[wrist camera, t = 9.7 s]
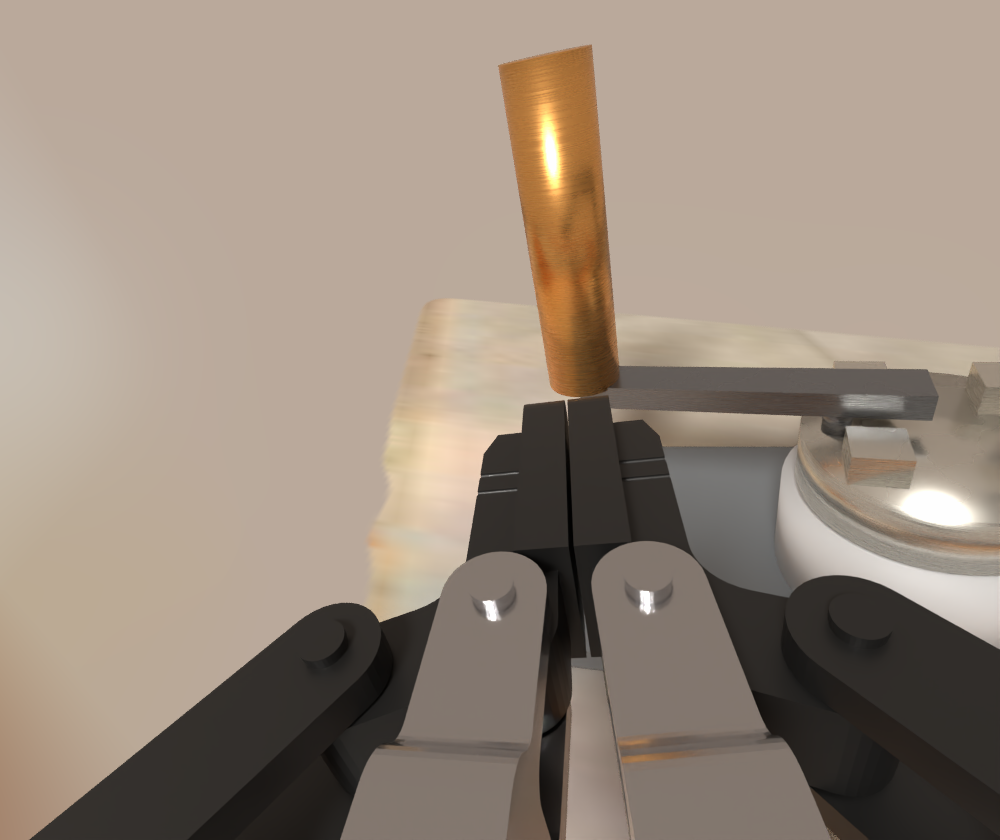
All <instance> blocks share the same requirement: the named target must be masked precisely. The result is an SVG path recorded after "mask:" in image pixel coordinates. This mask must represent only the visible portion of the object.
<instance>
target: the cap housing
mask: <svg viewBox="0 0 1000 840" xmlns="http://www.w3.org/2000/svg"><path fill="white" fill-rule="evenodd" d="M662 448H663V451H664V455H665V460H666V462H667V466H668V470H669V473H670V478H671V481H672V484H673V488H674V492H675V496H676V499H677V503H678V507H679V510H680V514H681V518H682V521H683V525H684V529H685V532H686V536H687V540H688V544H689V546H690V549H691V551H692V553H693V555H694V556H695V558H696V559H697V560H698V562H699V563H700V564H701V565H702V566H703V567H704V568H705V569H706V570H708V571H709V572H710V573H712V574H713V575H715V576H716V577H718V578H719V579H721V580H723V581H725V582H727V583H730V584H732V585H735V586H738V587H741V588H745V589H749V590H753V591H758V592H763V593H768V594H773V595H778V596H783V597H788V598H789V597H790V595H791V593H792V592H793V591H794V590H795V589H796V588H797V587H798V586H800V585H801V584H803V583H804V582H806V581H809V580H811V579H813V578H817V577H821V576H829V575H846V576H853V577H859V578H863V579H867V580H871V581H873V582H876V583H879V584H882V585H884V586H886V587H888V588H890V589H892V590H894V591H896V592H898V593H899V594H901V595H903V596H905V597H907V598H908V599H910V600H912V601H914V602H916V603H917V604H919V605H921V606H923V607H925V608H926V609H928V610H930V611H932V612H934V613H935V614H937V615H939V616H941V617H943V618H944V619H946V620H948V621H950V622H952V623H953V624H955V625H957V626H959V627H961V628H962V629H964V630H966V631H968V632H969V633H971V634H973V635H975V636H977V637H978V638H980V639H982V640H984V641H986V642H987V643H989V644H991V645H993V646H995V647H996V648H998V649H1000V576H968V575H956V574H949V573H943V572H937V571H931V570H927V569H923V568H919V567H914V566H910V565H907V564H904V563H901V562H898V561H895V560H892V559H889V558H886V557H884V556H881V555H879V554H876V553H874V552H872V551H869V550H867V549H865V548H863V547H861V546H859V545H857V544H855V543H854V542H852V541H850V540H849V539H847V538H845V537H844V536H842V535H840V534H839V533H837V532H836V531H835V530H833V529H832V528H831V527H829V526H828V525H827V524H825V523H824V522H823V521H822V520H821V519H820V518H819V517H818V516H817V515H816V514H815V513H814V512H813V511H812V510H811V508H810V507H809V506H808V505H807V504H806V502H805V500H804V499H803V497H802V496H801V494H800V492H799V489H798V487H797V484H796V478H795V465H796V456H797V448H798V444H797V445H796V446H795V447H662ZM584 619H585V615H584ZM585 637H586V655H587V658H571V667H577V668H586V669H594V670H602V671H603V665H602V657H591V653H590V647H589V640H588V634H587V627H586V621H585Z"/></svg>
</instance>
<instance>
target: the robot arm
mask: <svg viewBox="0 0 1000 840" xmlns="http://www.w3.org/2000/svg"><path fill="white" fill-rule="evenodd" d="M568 423H569V426H568ZM584 615H585V619H584ZM585 621H586V627H587V634H588V640H589V647H590V653H591V657H602V665H603V672H604V679H605V686H606V693H607V700H608V707H609V714H610V720H611V727H612V733H613V739H614V745H615V751H616V757H617V763H618V770H619V776H620V782H621V788H622V794H623V800H624V806H625V813H626V819H627V825H628V831H629V837H630V840H831V838H830V836H829V833H828V831H827V828H826V826H827V827H828V828H829V829H830V830H831V831H832V832H833V833H834V834H835V835H836V836H837V837H838V838H839V839H841V840H1000V649H998V648H996V647H995V646H993V645H991V644H989V643H987V642H986V641H984V640H982V639H980V638H978V637H977V636H975V635H973V634H971V633H969V632H968V631H966V630H964V629H962V628H961V627H959V626H957V625H955V624H953V623H952V622H950V621H948V620H946V619H944V618H943V617H941V616H939V615H937V614H935V613H934V612H932V611H930V610H928V609H926V608H925V607H923V606H921V605H919V604H917V603H916V602H914V601H912V600H910V599H908V598H907V597H905V596H903V595H901V594H899V593H898V592H896V591H894V590H892V589H890V588H888V587H886V586H884V585H882V584H879V583H876V582H873V581H871V580H867V579H863V578H859V577H853V576H846V575H829V576H821V577H817V578H813V579H811V580H809V581H806V582H804V583H803V584H801V585H800V586H798V587H797V588H796V589H795V590H794V591H793V592H792V593H791V595H790V597H789V598H788V597H783V596H778V595H773V594H768V593H763V592H758V591H753V590H749V589H745V588H741V587H738V586H735V585H732V584H730V583H727V582H725V581H723V580H721V579H719V578H718V577H716V576H715V575H713V574H712V573H710V572H709V571H708V570H706V569H705V568H704V567H703V566H702V565H701V564H700V563H699V562H698V560H697V559H696V558H695V556H694V555H693V553H692V551H691V549H690V546H689V544H688V540H687V536H686V532H685V529H684V525H683V521H682V518H681V514H680V510H679V507H678V503H677V499H676V496H675V492H674V488H673V484H672V481H671V478H670V473H669V470H668V466H667V462H666V460H665V455H664V451H663V448H662V444H661V440H660V436H659V435H658V434H657V433H656V432H655V431H654V430H653V429H652V428H650V427H649V426H648V425H647V424H646V423H645V422H644V421H643V420H635V421H625V422H616V423H613V421H612V415H611V408H610V402H609V396H608V395H605V396H596V397H587V398H579V399H570V400H568V418H567V411H566V405H565V401H564V400H563V401H554V402H545V403H536V404H528V405H524V409H523V422H522V433H515V434H505V435H498V436H497V437H496V439H495V440H494V441H493V443H492V444H491V445H490V447H489V448H488V449H487V451H486V452H485V453H484V456H483V463H482V469H481V478H480V481H479V487H478V496H477V499H476V505H475V511H474V517H473V523H472V529H471V535H470V541H469V547H468V553H467V559H466V562H465V563H464V564H462V565H461V566H460V567H459V568H457V569H456V570H455V571H454V572H453V573H452V575H451V576H450V577H449V578H448V580H447V582H446V583H445V585H444V587H443V590H442V593H441V596H440V598H439V599H437V600H436V601H434V602H432V603H430V604H429V605H427V606H425V607H422V608H420V609H417V610H415V611H412V612H409V613H406V614H403V615H400V616H397V617H394V618H391V619H389V620H386V621H383V622H380V623H379V621H378V619H377V617H376V616H375V614H374V613H373V612H372V611H371V610H369V609H368V608H366V607H364V606H362V605H359V604H354V603H339V604H333V605H329V606H326V607H323V608H321V609H318V610H316V611H314V612H312V613H310V614H309V615H307V616H305V617H304V618H303V619H301V620H300V621H298V622H297V623H296V624H295V625H293V626H292V627H291V628H290V629H289V630H287V631H286V632H285V633H284V634H282V635H281V636H280V637H279V638H278V639H276V640H275V641H274V642H273V643H271V644H270V645H269V646H268V647H267V648H265V649H264V650H263V651H261V652H260V653H259V654H258V655H256V656H255V657H254V658H253V659H252V660H250V661H249V662H248V663H247V664H245V665H244V666H243V667H242V668H240V669H239V670H238V671H237V672H236V673H234V674H233V675H232V676H231V677H229V678H228V679H227V680H226V681H224V682H223V683H222V684H221V685H220V686H218V687H217V688H216V689H215V690H213V691H212V692H211V693H210V694H209V695H207V696H206V697H205V698H203V699H202V700H201V701H200V702H199V703H197V704H196V705H195V706H194V707H193V708H191V709H190V710H189V711H187V712H186V713H185V714H184V715H183V716H181V717H180V718H179V719H178V720H176V721H175V722H174V723H173V724H171V725H170V726H169V727H168V728H167V729H165V730H164V731H163V732H162V733H160V734H159V735H158V736H157V737H155V738H154V739H153V740H152V741H151V742H149V743H148V744H147V745H146V746H144V747H143V748H142V749H141V750H139V751H138V752H137V753H136V754H135V755H133V756H132V757H131V758H130V759H128V760H127V761H126V762H125V763H123V764H122V765H121V766H120V767H118V768H117V769H116V770H115V771H114V772H112V773H111V774H110V775H109V776H107V777H106V778H105V779H104V780H102V781H101V782H100V783H99V784H97V785H96V786H95V787H94V788H93V789H91V790H90V791H89V792H88V793H86V794H85V795H84V796H83V797H82V798H80V799H79V800H78V801H77V802H75V803H74V804H73V805H72V806H70V807H69V808H68V809H67V810H65V811H64V812H63V813H62V814H61V815H59V816H58V817H57V818H56V819H54V820H53V821H52V822H51V823H49V824H48V825H47V826H46V827H45V828H43V829H42V830H41V831H40V832H38V833H37V834H36V835H35V836H34V837H32V838H31V839H30V840H566V822H567V801H568V781H569V760H570V739H571V718H572V709H571V702H570V701H571V697H572V673H571V658H587V655H586V637H585Z"/></svg>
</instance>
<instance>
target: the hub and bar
mask: <svg viewBox="0 0 1000 840" xmlns="http://www.w3.org/2000/svg"><path fill="white" fill-rule="evenodd" d="M498 67H499V73H500V79H501V85H502V91H503V97H504V103H505V110H506V116H507V121H508V128H509V134H510V140H511V146H512V153H513V159H514V165H515V171H516V177H517V183H518V190H519V196H520V201H521V208H522V214H523V220H524V226H525V233H526V238H527V245H528V251H529V257H530V263H531V269H532V276H533V282H534V287H535V294H536V300H537V306H538V313H539V319H540V325H541V331H542V337H543V343H544V349H545V356H546V362H547V368H548V374H549V380H550V385H551V388H552V389H553V390H554V391H555V392H557V393H559V394H561V395H565V396H570V397H581V398H587V397H596V396H605V395H608V396H609V402H610V408H616V409H641V410H667V411H692V412H718V413H743V414H768V415H794V416H802V418H801V423H800V431H799V440H798V448H797V456H796V465H795V478H796V484H797V487H798V489H799V492H800V494H801V496H802V497H803V499H804V500H805V502H806V504H807V505H808V506H809V507H810V508H811V510H812V511H813V512H814V513H815V514H816V515H817V516H818V517H819V518H820V519H821V520H822V521H823V522H824V523H825V524H827V525H828V526H829V527H831V528H832V529H833V530H835V531H836V532H837V533H839V534H840V535H842V536H844V537H845V538H847V539H849V540H850V541H852V542H854V543H855V544H857V545H859V546H861V547H863V548H865V549H867V550H869V551H872V552H874V553H876V554H879V555H881V556H884V557H886V558H889V559H892V560H895V561H898V562H901V563H904V564H907V565H910V566H914V567H919V568H923V569H927V570H931V571H937V572H943V573H949V574H956V575H968V576H1000V362H973V363H972V366H971V369H970V373H969V376H968V377H965V376H958V375H951V374H942V373H929V372H928V370H925V369H887V367H886V364H885V362H855V361H834V364H833V369H830V368H736V367H642V366H619V361H618V349H617V337H616V325H615V313H614V302H613V291H612V278H611V266H610V255H609V244H608V243H609V242H608V231H607V219H606V207H605V195H604V184H603V172H602V160H601V150H600V149H601V148H600V136H599V124H598V113H597V100H596V89H595V77H594V66H593V54H592V45H585V46H580V47H574V48H569V49H565V50H560V51H555V52H551V53H546V54H542V55H537V56H532V57H528V58H524V59H520V60H516V61H512V62H508V63H504V64H501V65H498Z"/></svg>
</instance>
